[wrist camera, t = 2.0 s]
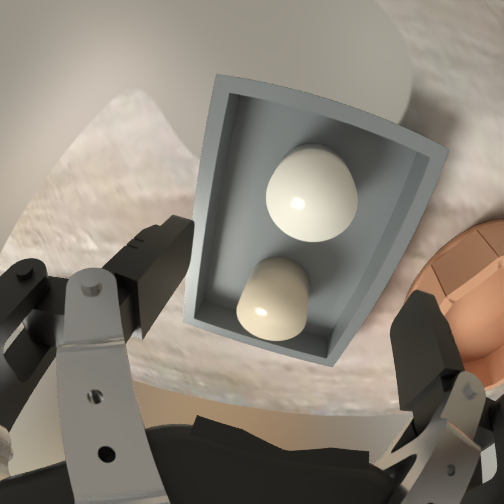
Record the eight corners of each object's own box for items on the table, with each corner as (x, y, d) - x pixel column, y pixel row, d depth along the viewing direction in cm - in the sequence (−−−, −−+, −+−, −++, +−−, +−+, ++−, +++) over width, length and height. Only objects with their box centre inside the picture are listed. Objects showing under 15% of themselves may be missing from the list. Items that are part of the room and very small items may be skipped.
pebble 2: (286, 133, 17) (278, 143, 14) (360, 157, 17) (370, 173, 14) (268, 202, 20) (257, 227, 17) (337, 223, 20) (339, 252, 16)
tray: (233, 76, 17) (216, 73, 14) (429, 139, 16) (449, 149, 13) (196, 297, 28) (182, 322, 25) (333, 339, 27) (332, 367, 24)
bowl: (462, 185, 17) (493, 212, 12) (565, 255, 15) (588, 283, 11) (368, 348, 26) (370, 388, 22) (480, 370, 25) (489, 401, 21)
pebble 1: (256, 249, 22) (243, 279, 19) (318, 268, 22) (316, 302, 19) (243, 296, 25) (231, 329, 22) (299, 313, 25) (293, 347, 21)
